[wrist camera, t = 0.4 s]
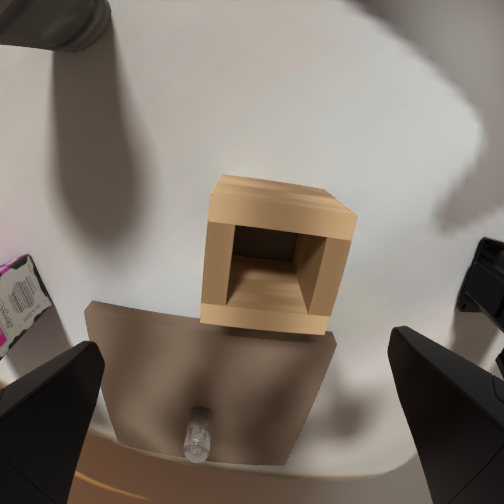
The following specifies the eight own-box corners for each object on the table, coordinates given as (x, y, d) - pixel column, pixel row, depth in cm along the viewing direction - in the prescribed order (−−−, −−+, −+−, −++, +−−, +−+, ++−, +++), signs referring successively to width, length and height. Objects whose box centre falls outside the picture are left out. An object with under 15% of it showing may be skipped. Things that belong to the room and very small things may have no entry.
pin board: (331, 331, 21) (355, 395, 15) (283, 454, 28) (287, 503, 22) (92, 300, 20) (51, 354, 14) (122, 433, 27) (107, 479, 21)
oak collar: (324, 189, 18) (357, 215, 12) (304, 279, 20) (324, 335, 14) (223, 174, 17) (210, 194, 12) (213, 268, 19) (200, 322, 14)
